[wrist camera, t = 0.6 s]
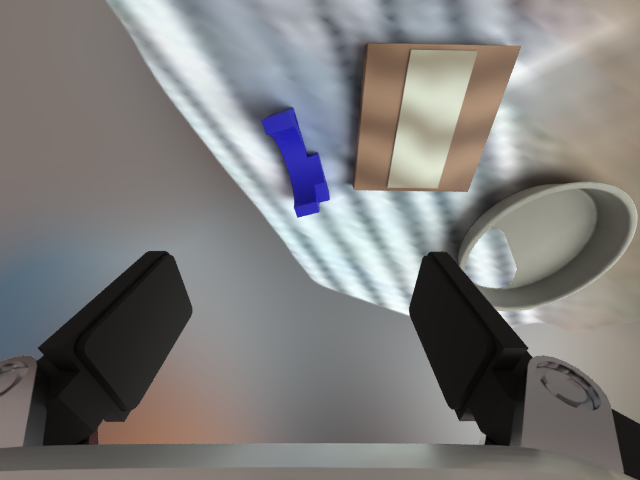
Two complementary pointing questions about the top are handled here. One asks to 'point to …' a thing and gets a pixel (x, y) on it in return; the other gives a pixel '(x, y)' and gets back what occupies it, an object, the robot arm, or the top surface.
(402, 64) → the mounting board
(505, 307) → the cake pan
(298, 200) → the blue curved stepped block
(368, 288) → the top surface
